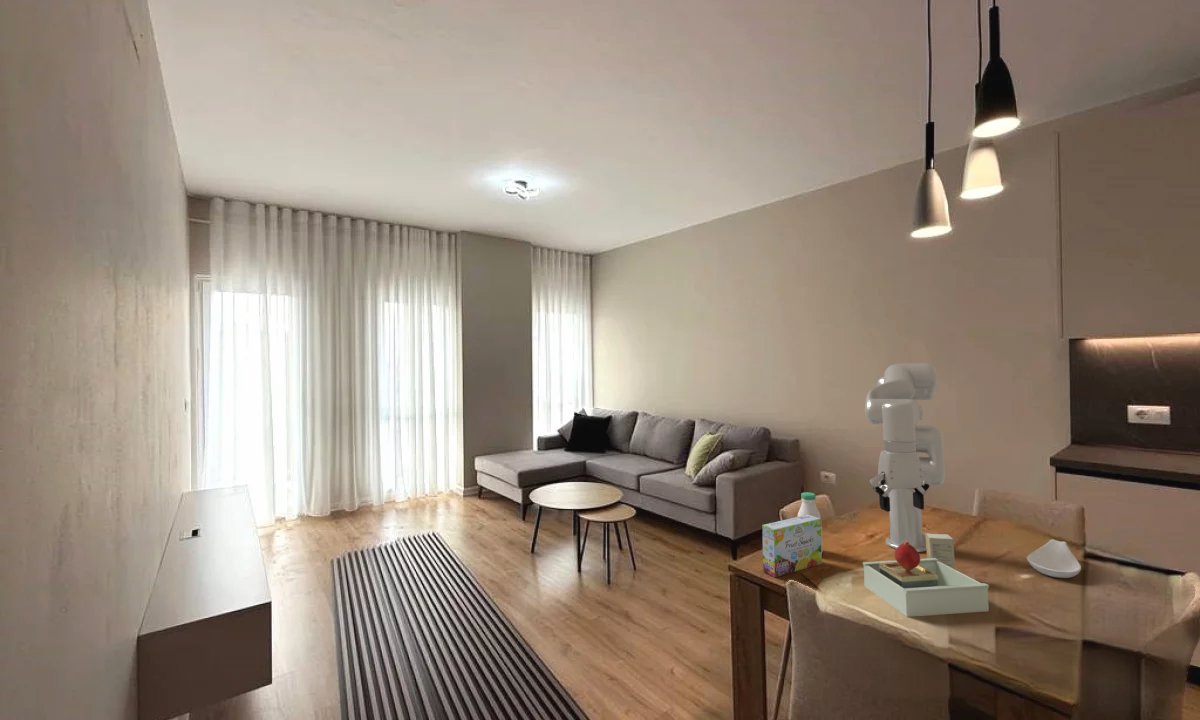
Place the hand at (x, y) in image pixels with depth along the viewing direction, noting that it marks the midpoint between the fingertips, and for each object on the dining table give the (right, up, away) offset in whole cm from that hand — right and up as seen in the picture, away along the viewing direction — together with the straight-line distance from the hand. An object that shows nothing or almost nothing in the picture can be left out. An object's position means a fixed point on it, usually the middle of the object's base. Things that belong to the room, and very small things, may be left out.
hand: (901, 509), depth 131 cm
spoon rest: (+58, -24, +16) cm, 64 cm away
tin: (0, -24, -2) cm, 24 cm away
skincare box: (+20, -24, +12) cm, 33 cm away
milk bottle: (-10, -26, +34) cm, 44 cm away
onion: (0, -16, -2) cm, 16 cm away
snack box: (-21, -26, +21) cm, 40 cm away
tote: (+5, -24, -2) cm, 25 cm away
